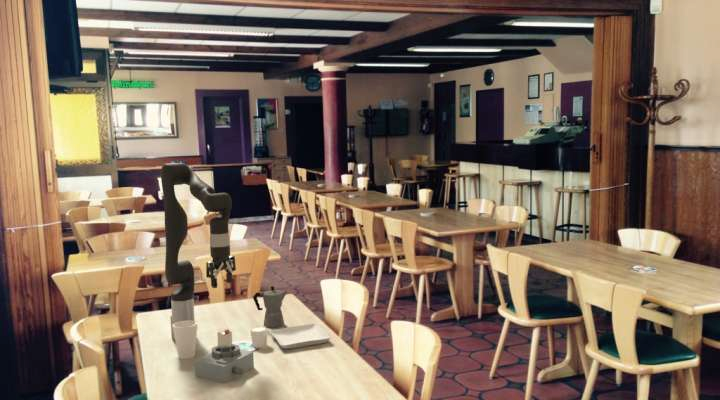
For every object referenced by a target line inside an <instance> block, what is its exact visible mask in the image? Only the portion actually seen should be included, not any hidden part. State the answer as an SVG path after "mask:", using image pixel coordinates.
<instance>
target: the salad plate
mask: <svg viewBox="0 0 720 400" xmlns="http://www.w3.org/2000/svg"><path fill="white" fill-rule="evenodd" d="M269 334H270V335H271V336H272V337H274V339H275V340H276V341H277V343H278V344H279V346H280V347H281V348H283V349H289V350H290V349H297V348H302V347H304V348H305V347H308V346H309V347H310V346H314V345H319V344H323V343H326V342H328V341H329V340H330V339H331V336H330V335H329V334H327V333H326V332H325V330H323V329H322V327H320V326H319V324H317V323H309V324H308V323H307V324H303V325H296V326H289V327H288V326H287V327H283V328H278V329H277V328H275V329H271V330H269Z"/></svg>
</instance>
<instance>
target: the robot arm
mask: <svg viewBox="0 0 720 400" xmlns="http://www.w3.org/2000/svg"><path fill="white" fill-rule="evenodd" d="M160 180H161V181H160V182H161V188H162V189H161V190H162V195H163V207H164V209H163V210H164V233H165V263H164V274H165V279H166V281H167V283H168V284H169V285H170V286H175V285H178V287H177V288H176V289H175V290H173V291H172V292H171V293H170V301H171V302H170V304H171V306H170V307H171V316H170V317H169V318H170V333H171V339H173V340H175V336H174V332H173V324H174V323H176V322H179V321H186V320H192V321H196V319H195V302H194V300H195V299H194V294H195V293H194V292H195V269H194V266H193V263H192V262H191V261H190V260H181V261H179V253H180V249H181V248H182V245H183V243H184V241H185V240H186V238H187V234H188V231H189V229H188V227H189V226H188V215H187V212H186V211H185V209H184V208H183V206H182V205H181V203H180V202H179V200H178V198H177V197H176V192H175V186H182V185H187V186H189V192H190V194H191V195H192V196H193V197H194V198H195V199H196V200H198V201H199V202H200V203H201V204H202V206H203V208H204V209H205V210H206V211H207V212H210V213H217V212H218V213H217V216H215V217H213V218H211V219H210V220H209V233H210V234H209V249H210V257H211V258H212V261H207V262H206V265H205V266H206V267H205V270H206V271H205V273H206V274H205V275H206V278H209V279H210V283H211V284H210V285H211V288H212V289H217V288H218V276H219V274H220V273H221V271H225V272H226V275H225V276H226V283H228V284H232V283H233V273H234V271H236V270H237V268H236V257H235V256H234V255H231V239H230V232H229V220H230V215H231V210H232V207H233V206H232V205H233V201H232V197H231V195H230V194H229V193H227V192H218V193H216V191H215V189H214V188H213V187H212V186H210V185H209V184H207V183H206V182H205V181H203V180H202V179H201V178H200V177H199V176H198V175H197V174H196V172H195V171H193V169H192V168H191V167H190V166H189V165H188V164H186V163H184V162H173V163H172V162H171V163H164V164H163V165H162V167H161V169H160Z"/></svg>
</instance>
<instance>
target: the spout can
mask: <svg viewBox="0 0 720 400" xmlns="http://www.w3.org/2000/svg"><path fill="white" fill-rule="evenodd" d="M232 332H233V331H231V330H230V329H224V330H220V331H219V332H217V346H218V351H219V352H228V351H232V350H233V348H232V344H233V333H232Z"/></svg>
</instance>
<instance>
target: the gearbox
mask: <svg viewBox="0 0 720 400" xmlns="http://www.w3.org/2000/svg"><path fill="white" fill-rule="evenodd" d="M232 348H233V350H232V351H228V352H219V351H218V345H216V346H214V347H212V348H211V352H209V353H207V354H205V355H202V356H200V357H199V358H198V357H197V358H196V359H194V371H195V373H194V374H195V377H197V378H202V379H207V380H211V381H216V382H221V383H223V384H224V383H225V384H226V383H228V382H229V381H231V380H233V379H235V378H236V377H238V376H242V374H244V373H246V372H248V371H250V370H252V369H254V368H255V364H254V363H255V361H254V360H255V359H254V351H250V350H246V349H240V345H239V344H235V343H232Z"/></svg>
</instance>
